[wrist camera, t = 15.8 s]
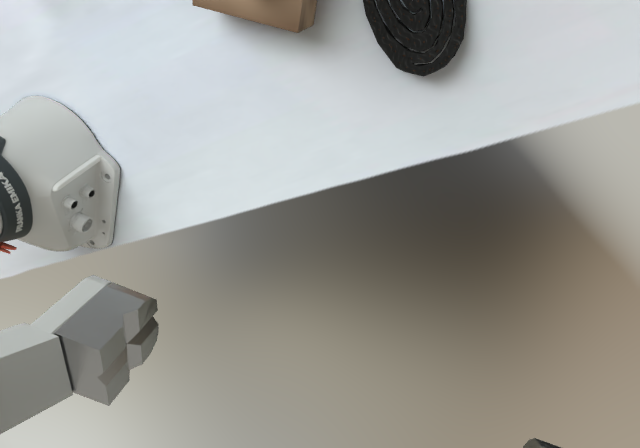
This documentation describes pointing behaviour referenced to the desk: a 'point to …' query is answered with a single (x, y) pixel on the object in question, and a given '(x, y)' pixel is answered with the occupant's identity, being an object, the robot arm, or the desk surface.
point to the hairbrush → (417, 40)
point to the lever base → (267, 11)
